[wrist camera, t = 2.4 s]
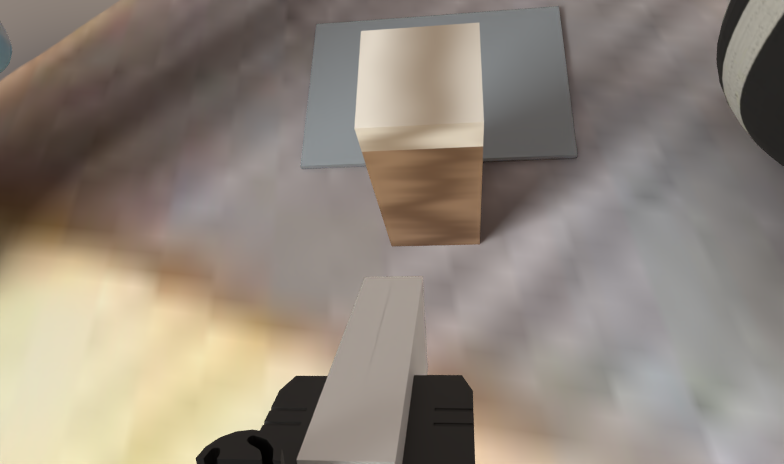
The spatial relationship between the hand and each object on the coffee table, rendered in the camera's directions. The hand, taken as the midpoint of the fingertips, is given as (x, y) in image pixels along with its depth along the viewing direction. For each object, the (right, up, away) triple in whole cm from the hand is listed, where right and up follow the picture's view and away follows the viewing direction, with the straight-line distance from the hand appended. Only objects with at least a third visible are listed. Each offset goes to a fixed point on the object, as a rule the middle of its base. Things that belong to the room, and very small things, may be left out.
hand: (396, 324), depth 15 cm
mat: (+3, +14, +30) cm, 33 cm away
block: (+3, +4, +25) cm, 26 cm away
